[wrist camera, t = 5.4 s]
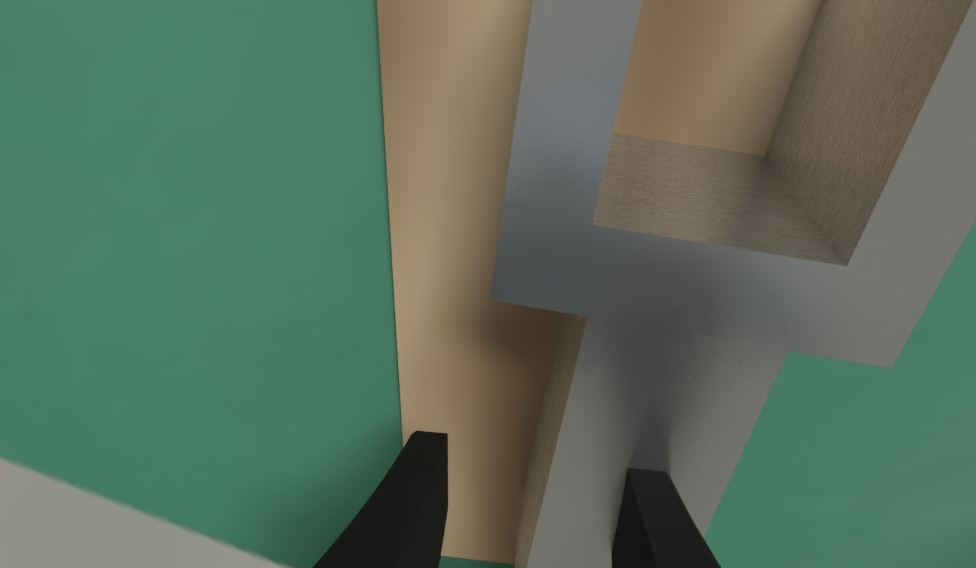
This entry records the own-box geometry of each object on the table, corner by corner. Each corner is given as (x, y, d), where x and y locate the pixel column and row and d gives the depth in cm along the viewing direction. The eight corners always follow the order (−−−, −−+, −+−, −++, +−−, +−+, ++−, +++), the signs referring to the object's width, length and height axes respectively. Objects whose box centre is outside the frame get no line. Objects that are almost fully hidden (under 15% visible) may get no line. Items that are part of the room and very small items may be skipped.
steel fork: (926, -66, 10) (1127, -49, 7) (681, 520, 18) (708, 688, 14) (562, -117, 11) (551, -130, 7) (470, 481, 18) (440, 636, 14)
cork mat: (832, -54, 11) (840, -53, 11) (668, 572, 20) (670, 583, 19) (379, -68, 12) (372, -68, 11) (412, 540, 20) (409, 551, 20)
